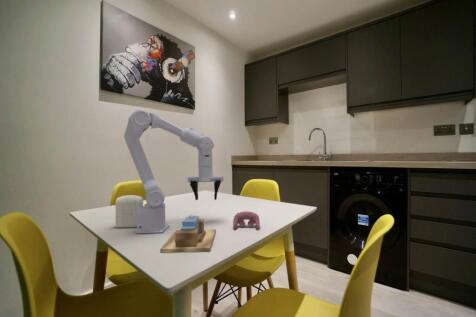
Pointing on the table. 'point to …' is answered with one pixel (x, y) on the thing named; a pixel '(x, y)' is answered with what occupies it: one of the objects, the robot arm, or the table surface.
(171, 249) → the bread on cutting board
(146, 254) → the table surface
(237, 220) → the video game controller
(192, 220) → the servo
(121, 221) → the photo printer
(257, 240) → the table surface
